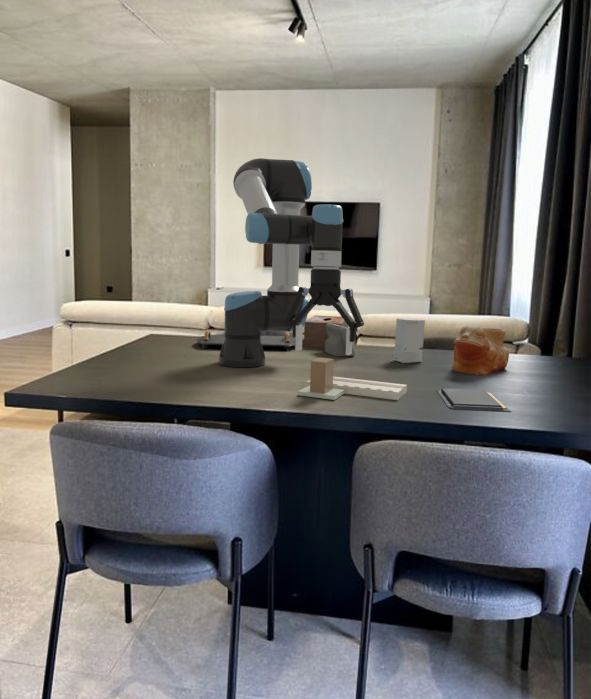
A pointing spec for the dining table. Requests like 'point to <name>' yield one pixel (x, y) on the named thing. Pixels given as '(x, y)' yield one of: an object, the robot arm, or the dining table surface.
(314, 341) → the tissue box cover
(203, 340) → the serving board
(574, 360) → the dining table surface
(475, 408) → the wallet
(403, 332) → the skincare box
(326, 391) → the stub
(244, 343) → the robot arm
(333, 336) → the digital clock
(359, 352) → the dining table surface
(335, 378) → the pad
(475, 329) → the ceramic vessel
